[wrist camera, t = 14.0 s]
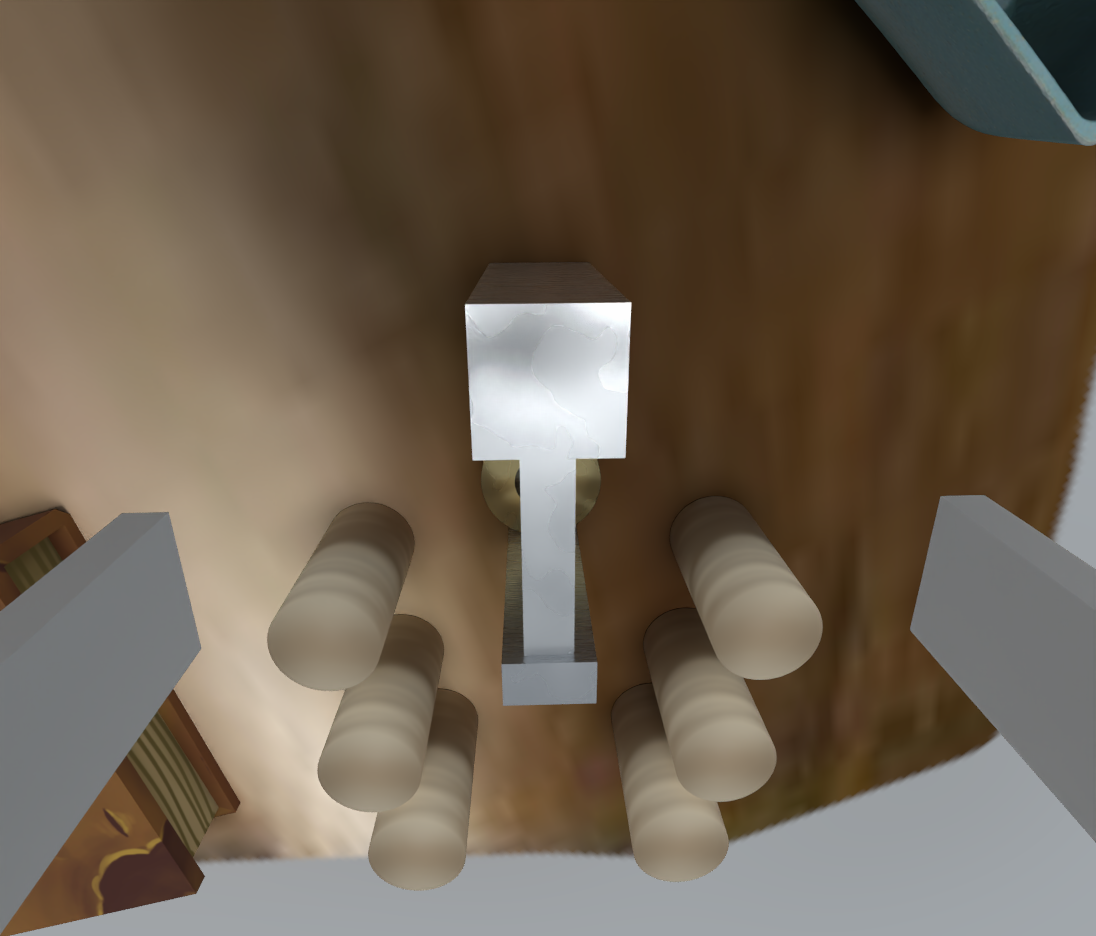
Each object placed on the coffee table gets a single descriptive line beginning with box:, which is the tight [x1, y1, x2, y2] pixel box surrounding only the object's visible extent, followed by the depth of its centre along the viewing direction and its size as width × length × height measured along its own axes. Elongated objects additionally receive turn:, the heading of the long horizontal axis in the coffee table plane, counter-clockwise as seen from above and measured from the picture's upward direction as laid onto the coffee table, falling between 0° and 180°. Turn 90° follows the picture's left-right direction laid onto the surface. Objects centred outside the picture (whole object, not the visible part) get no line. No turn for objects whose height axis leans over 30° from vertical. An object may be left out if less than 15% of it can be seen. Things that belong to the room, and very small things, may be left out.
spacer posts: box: [267, 496, 822, 890], centre depth 30 cm, size 14×20×8 cm
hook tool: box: [465, 262, 631, 706], centre depth 24 cm, size 13×4×12 cm, turn 0°
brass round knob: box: [481, 458, 601, 532], centre depth 30 cm, size 5×5×3 cm
